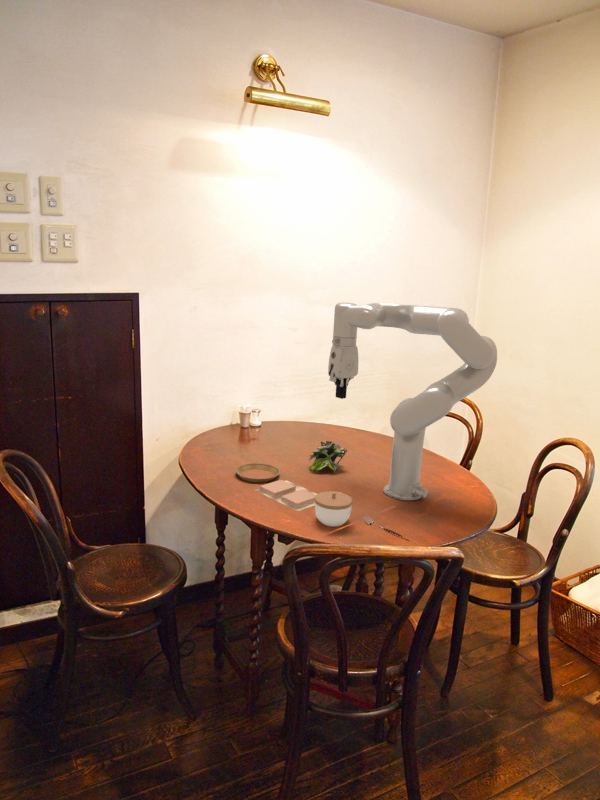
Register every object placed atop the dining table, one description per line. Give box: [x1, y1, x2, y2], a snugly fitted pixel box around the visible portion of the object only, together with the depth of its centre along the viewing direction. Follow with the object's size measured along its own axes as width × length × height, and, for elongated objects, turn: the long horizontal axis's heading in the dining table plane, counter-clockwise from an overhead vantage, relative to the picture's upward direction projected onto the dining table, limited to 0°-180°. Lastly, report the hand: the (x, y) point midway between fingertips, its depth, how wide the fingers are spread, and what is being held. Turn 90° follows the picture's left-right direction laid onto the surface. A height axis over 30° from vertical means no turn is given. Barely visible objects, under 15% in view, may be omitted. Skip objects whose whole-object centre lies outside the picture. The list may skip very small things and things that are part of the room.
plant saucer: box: [235, 462, 281, 483], centre depth 209 cm, size 15×15×3 cm
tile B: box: [259, 479, 296, 498], centre depth 197 cm, size 7×2×9 cm
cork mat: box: [254, 480, 318, 512], centre depth 195 cm, size 20×14×1 cm
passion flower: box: [308, 440, 348, 475], centre depth 217 cm, size 13×12×14 cm
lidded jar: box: [314, 490, 354, 528], centre depth 176 cm, size 11×11×9 cm
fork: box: [362, 514, 403, 537], centre depth 175 cm, size 3×16×2 cm, turn 44°
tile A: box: [281, 489, 316, 508], centre depth 190 cm, size 7×2×9 cm
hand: (340, 397), depth 202 cm, fingers closed
